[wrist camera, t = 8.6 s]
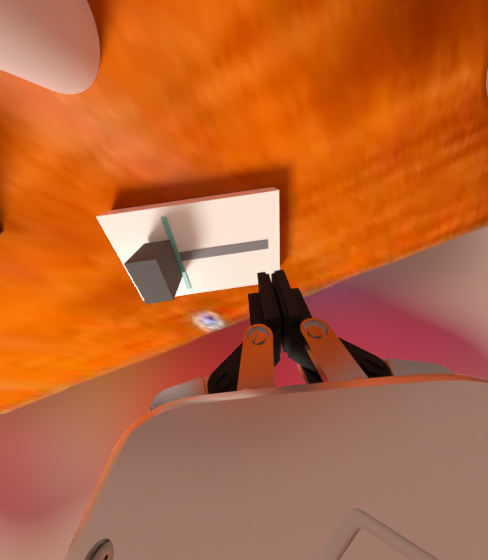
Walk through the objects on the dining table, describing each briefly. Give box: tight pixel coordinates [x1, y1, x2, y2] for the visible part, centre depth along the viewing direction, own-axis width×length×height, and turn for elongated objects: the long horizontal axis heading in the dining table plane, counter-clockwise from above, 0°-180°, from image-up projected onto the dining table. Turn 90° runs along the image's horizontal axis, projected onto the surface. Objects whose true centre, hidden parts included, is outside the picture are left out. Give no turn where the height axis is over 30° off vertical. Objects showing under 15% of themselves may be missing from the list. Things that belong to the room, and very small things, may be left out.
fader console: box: [96, 187, 280, 300], centre depth 24 cm, size 20×12×3 cm, turn 97°
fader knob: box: [124, 240, 183, 304], centre depth 20 cm, size 3×5×5 cm, turn 7°
